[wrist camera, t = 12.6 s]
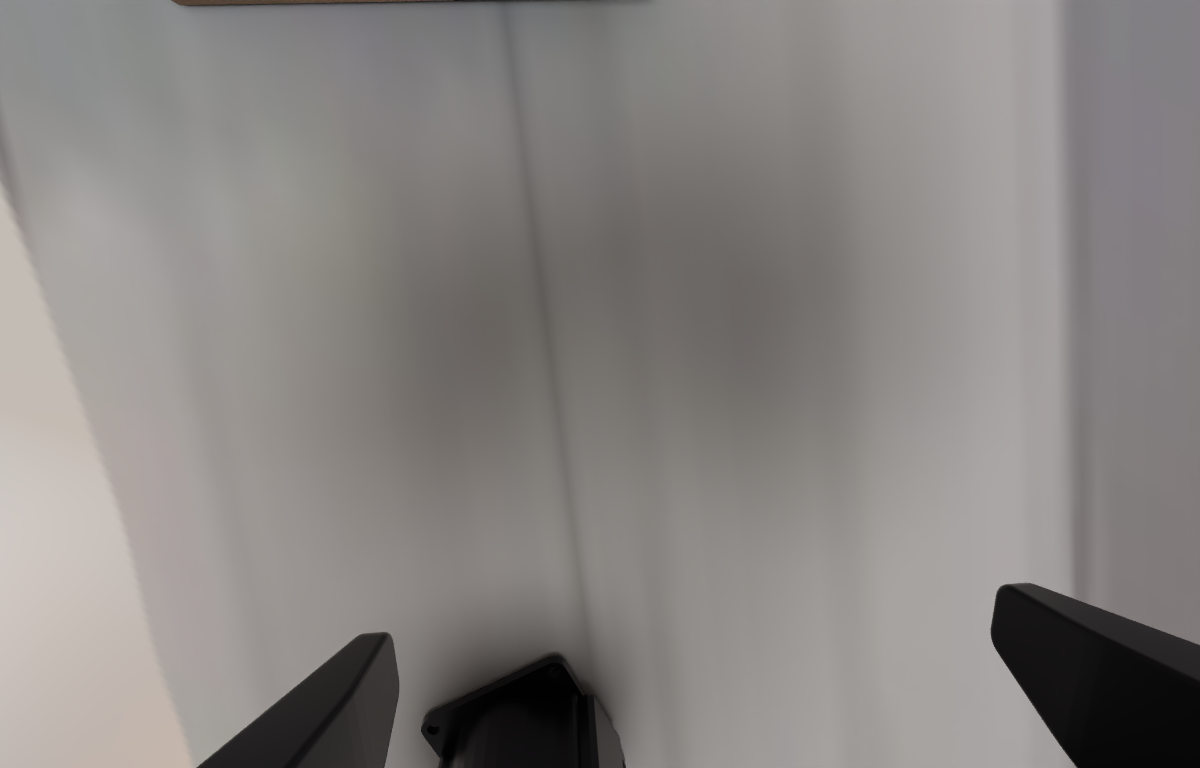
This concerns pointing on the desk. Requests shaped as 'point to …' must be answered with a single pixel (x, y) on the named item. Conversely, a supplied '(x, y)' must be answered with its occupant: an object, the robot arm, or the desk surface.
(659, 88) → the desk surface
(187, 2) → the board
